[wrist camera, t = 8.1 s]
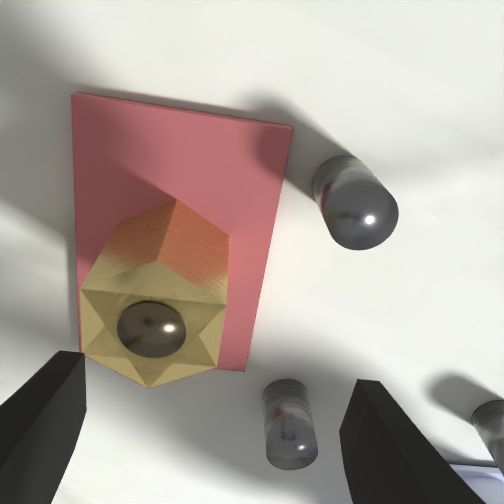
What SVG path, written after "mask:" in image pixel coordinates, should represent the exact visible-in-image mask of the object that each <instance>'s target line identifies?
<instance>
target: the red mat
mask: <svg viewBox="0 0 504 504" xmlns="http://www.w3.org/2000/svg"><path fill="white" fill-rule="evenodd" d="M71 100H72V131H73V162H74V193H75V224H76V256H77V287H78V318H79V349H80V353H82V344H81V312H80V287H81V285H82V284H83V282H84V280H85V279H86V277H87V275H88V274H89V272H90V270H91V269H92V267H93V265H94V263H95V262H96V260H97V258H98V257H99V255H100V253H101V252H102V250H103V248H104V247H105V245H106V243H107V241H108V240H109V238H110V236H111V235H112V233H113V231H114V230H115V228H116V226H117V225H118V223H119V222H120V221H122V220H125V219H127V218H130V217H133V216H135V215H138V214H141V213H143V212H146V211H148V210H151V209H154V208H156V207H159V206H161V205H164V204H167V203H169V202H172V201H174V200H177V199H178V200H179V201H180V202H182V203H183V204H185V205H186V206H188V207H189V208H190V209H192V210H193V211H195V212H196V213H197V214H199V215H200V216H202V217H203V218H205V219H206V220H207V221H209V222H210V223H212V224H213V225H215V226H216V227H217V228H219V229H220V230H222V231H223V232H225V233H226V234H227V235H229V256H228V282H227V306H226V312H225V318H224V325H223V331H222V337H221V344H220V350H219V356H218V363H217V367H216V368H213V369H223V370H233V371H243V372H245V368H246V363H247V358H248V353H249V348H250V343H251V338H252V333H253V328H254V323H255V318H256V313H257V308H258V303H259V298H260V293H261V288H262V283H263V278H264V273H265V268H266V263H267V258H268V253H269V248H270V243H271V238H272V233H273V228H274V223H275V218H276V213H277V208H278V203H279V198H280V193H281V188H282V183H283V178H284V173H285V168H286V163H287V158H288V153H289V148H290V143H291V138H292V133H293V129H292V127H291V126H287V125H280V124H274V123H268V122H261V121H255V120H249V119H242V118H236V117H230V116H223V115H217V114H210V113H204V112H198V111H191V110H185V109H179V108H172V107H166V106H160V105H153V104H147V103H141V102H134V101H128V100H122V99H115V98H109V97H103V96H96V95H90V94H84V93H74V94H72V95H71Z"/></svg>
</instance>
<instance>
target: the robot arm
mask: <svg viewBox="0 0 504 504" xmlns="http://www.w3.org/2000/svg"><path fill="white" fill-rule="evenodd" d="M86 411H87V409H86V380H85V353H79V352H69V351H59V352H57V353H56V354H55V355H54V356H53V357H52V358H51V359H50V360H49V361H48V362H47V363H46V364H45V365H44V366H43V367H42V368H41V369H39V370H38V371H37V372H36V373H35V374H34V375H33V376H32V377H31V378H30V379H29V380H28V381H27V382H26V383H25V384H24V385H23V386H22V387H21V388H19V389H18V390H17V391H16V392H15V393H14V394H13V395H12V396H11V397H9V398H8V399H7V400H6V401H5V402H4V403H3V404H2V405H1V406H0V504H51V502H52V500H53V498H54V496H55V493H56V491H57V489H58V487H59V484H60V482H61V480H62V477H63V475H64V473H65V470H66V468H67V466H68V463H69V461H70V459H71V456H72V454H73V452H74V449H75V446H76V443H77V440H78V437H79V434H80V430H81V427H82V424H83V421H84V417H85V414H86ZM339 434H340V442H341V450H342V457H343V463H344V470H345V474H346V478H347V482H348V486H349V490H350V494H351V498H352V502H353V504H504V477H503V475H502V473H501V471H500V470H499V468H491V467H479V466H466V465H454V464H448V463H447V462H446V461H445V460H444V458H443V457H442V456H441V455H440V454H439V453H438V452H437V451H436V449H435V448H434V447H433V446H432V445H431V444H430V442H429V441H428V440H427V439H426V438H425V437H424V435H423V434H422V433H421V432H420V431H419V429H418V428H417V427H416V426H415V425H414V423H413V422H412V421H411V420H410V418H409V417H408V416H407V415H406V413H405V412H404V411H403V410H402V408H401V407H400V406H399V405H398V404H397V402H396V401H395V400H394V399H393V397H392V396H391V395H390V394H389V392H388V391H387V390H386V389H385V387H384V386H383V385H382V384H381V383H380V381H372V380H361V379H357V382H356V385H355V388H354V391H353V394H352V396H351V399H350V402H349V405H348V408H347V411H346V414H345V416H344V419H343V422H342V425H341V428H340V431H339Z"/></svg>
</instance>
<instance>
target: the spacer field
mask: <svg viewBox="0 0 504 504" xmlns="http://www.w3.org/2000/svg"><path fill="white" fill-rule="evenodd" d="M312 192H313V195H314V198H315V200H316V202H317V205H318V207H319V209H320V211H321V214H322V216H323V218H324V221H325V223H326V225H327V227H328V230H329V232H330V234H331V236H332V238H333V239H334V240H335V241H336V242H337V243H338V244H339V245H341V246H343V247H345V248H347V249H351V250H366V249H370V248H373V247H376V246H377V245H379V244H381V243H382V242H384V241H385V240H386V239H387V238H388V237H389V236H390V235H391V234H392V232H393V231H394V229H395V227H396V224H397V221H398V215H399V214H398V206H397V203H396V201H395V199H394V198H393V196H392V195H391V194H390V193H389V192H388V190H387V189H386V188H385V187H384V186H383V185H382V184H381V183H380V181H379V180H378V179H377V178H376V177H375V176H374V175H373V174H372V172H371V171H370V170H369V169H368V168H367V167H366V166H365V165H364V164H363V163H362V162H361V161H360V160H358V159H356V158H354V157H350V156H339V157H335V158H332V159H330V160H328V161H326V162H325V163H324V164H322V165H321V166H320V168H319V169H318V170H317V172H316V173H315V176H314V178H313V182H312ZM263 409H264V424H265V439H266V454H267V459H268V461H269V462H270V463H271V464H272V465H273V466H275V467H277V468H280V469H284V470H297V469H301V468H304V467H306V466H308V465H310V464H311V463H312V462H313V461H314V460H315V459H316V457H317V455H318V448H317V443H316V437H315V432H314V427H313V421H312V416H311V411H310V405H309V400H308V395H307V391H306V388H305V387H304V386H303V385H302V384H301V383H299V382H297V381H294V380H287V379H286V380H279V381H276V382H273V383H272V384H270V385H269V386H268V387H267V388H266V389H265V390H264V392H263ZM472 424H473V425H474V427H475V429H476V430H477V432H478V434H479V436H480V437H481V439H482V441H483V442H484V444H485V446H486V447H487V449H488V451H489V453H490V454H491V456H492V458H493V459H494V461H495V463H496V465H497V466H498V468H499V470H500V471H501V473H502V475H503V477H504V401H502V400H498V401H491V402H488V403H486V404H484V405H482V406H480V407H479V408H478V409H477V410H476V411H475V412H474V414H473V416H472Z"/></svg>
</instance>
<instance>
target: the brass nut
mask: <svg viewBox="0 0 504 504" xmlns="http://www.w3.org/2000/svg"><path fill="white" fill-rule="evenodd" d="M228 256H229V235H227V234H226V233H225V232H223V231H222V230H220V229H219V228H217V227H216V226H215V225H213V224H212V223H210V222H209V221H207V220H206V219H205V218H203V217H202V216H200V215H199V214H197V213H196V212H195V211H193V210H192V209H190V208H189V207H188V206H186V205H185V204H183V203H182V202H180V201H179V200H178V199H177V200H174V201H172V202H169V203H167V204H164V205H161V206H159V207H156V208H154V209H151V210H148V211H146V212H143V213H141V214H138V215H135V216H133V217H130V218H127V219H125V220H122V221H120V222H119V223H118V225H117V226H116V228H115V230H114V231H113V233H112V235H111V236H110V238H109V240H108V241H107V243H106V245H105V247H104V248H103V250H102V252H101V253H100V255H99V257H98V258H97V260H96V262H95V263H94V265H93V267H92V269H91V270H90V272H89V274H88V275H87V277H86V279H85V280H84V282H83V284H82V285H81V287H80V312H81V344H82V353H85V356H87V357H89V358H91V359H93V360H94V361H96V362H98V363H100V364H102V365H104V366H106V367H108V368H110V369H112V370H114V371H116V372H117V373H119V374H121V375H123V376H125V377H127V378H129V379H131V380H133V381H135V382H137V383H138V384H140V385H142V386H144V387H146V388H148V389H149V388H153V387H156V386H159V385H162V384H165V383H168V382H171V381H175V380H178V379H181V378H184V377H187V376H190V375H194V374H197V373H200V372H203V371H206V370H209V369H212V368H216V367H217V363H218V356H219V350H220V344H221V337H222V331H223V325H224V318H225V312H226V306H227V282H228Z"/></svg>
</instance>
